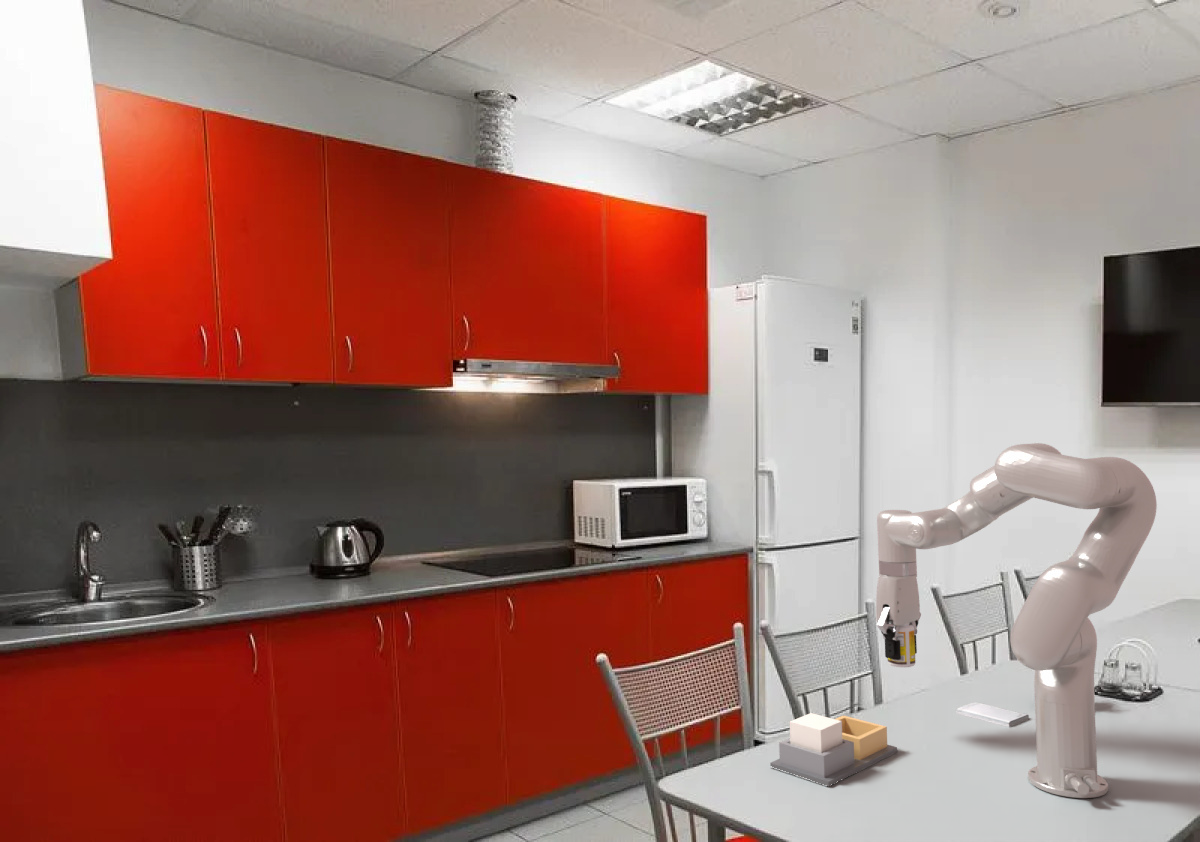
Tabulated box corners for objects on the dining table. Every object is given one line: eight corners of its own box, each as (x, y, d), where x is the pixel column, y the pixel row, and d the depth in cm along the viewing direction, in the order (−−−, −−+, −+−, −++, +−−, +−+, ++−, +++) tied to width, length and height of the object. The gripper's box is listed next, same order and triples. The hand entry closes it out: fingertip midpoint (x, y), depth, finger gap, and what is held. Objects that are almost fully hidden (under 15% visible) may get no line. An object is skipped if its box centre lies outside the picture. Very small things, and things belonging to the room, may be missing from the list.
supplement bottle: (908, 660, 183) (906, 612, 183) (920, 667, 177) (918, 617, 178) (883, 662, 183) (881, 613, 183) (894, 668, 177) (892, 619, 177)
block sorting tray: (840, 736, 182) (839, 693, 182) (897, 752, 172) (895, 707, 172) (770, 768, 166) (768, 721, 166) (828, 787, 156) (826, 737, 156)
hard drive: (1028, 714, 189) (976, 700, 199) (1009, 722, 184) (955, 707, 195) (1029, 721, 189) (976, 707, 199) (1009, 729, 184) (956, 715, 195)
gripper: (902, 562, 189) (906, 645, 188) (859, 572, 178) (862, 660, 177) (935, 565, 183) (938, 651, 183) (892, 576, 172) (895, 667, 172)
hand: (901, 654), depth 180 cm, fingers closed on supplement bottle, 5 cm apart
